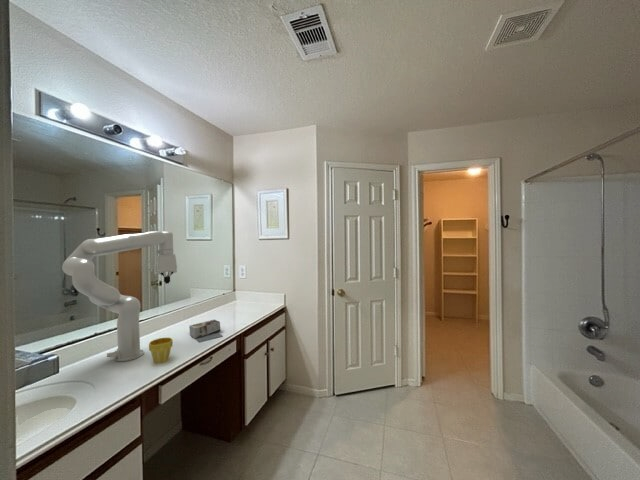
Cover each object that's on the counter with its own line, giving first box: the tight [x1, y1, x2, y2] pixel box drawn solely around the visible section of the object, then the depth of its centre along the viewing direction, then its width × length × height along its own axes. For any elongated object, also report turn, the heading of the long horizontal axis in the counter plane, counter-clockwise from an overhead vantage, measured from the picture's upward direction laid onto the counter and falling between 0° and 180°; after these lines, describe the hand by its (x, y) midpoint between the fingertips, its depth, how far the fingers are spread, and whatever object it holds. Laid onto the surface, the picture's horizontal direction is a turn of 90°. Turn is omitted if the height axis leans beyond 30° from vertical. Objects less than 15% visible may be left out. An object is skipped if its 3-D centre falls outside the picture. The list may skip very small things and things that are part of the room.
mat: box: [194, 332, 224, 343], centre depth 170 cm, size 14×20×1 cm
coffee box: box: [188, 319, 222, 339], centre depth 172 cm, size 9×6×16 cm
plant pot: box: [148, 337, 174, 364], centre depth 136 cm, size 10×10×10 cm
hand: (167, 283), depth 160 cm, fingers closed
